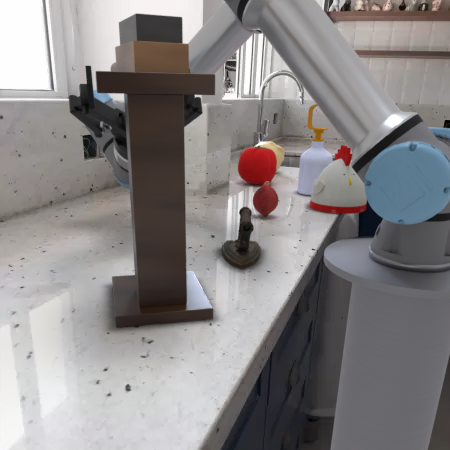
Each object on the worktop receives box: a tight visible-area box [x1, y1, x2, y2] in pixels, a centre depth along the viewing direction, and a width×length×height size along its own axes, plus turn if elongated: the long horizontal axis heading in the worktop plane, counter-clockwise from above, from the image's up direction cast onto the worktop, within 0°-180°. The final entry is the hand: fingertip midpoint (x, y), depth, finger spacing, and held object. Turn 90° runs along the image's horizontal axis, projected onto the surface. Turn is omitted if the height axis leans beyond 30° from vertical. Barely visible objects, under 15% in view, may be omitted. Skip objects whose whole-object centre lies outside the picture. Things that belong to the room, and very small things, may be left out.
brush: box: [110, 13, 189, 73], centre depth 60 cm, size 23×6×6 cm, turn 24°
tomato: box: [237, 145, 277, 186], centre depth 150 cm, size 12×13×12 cm
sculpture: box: [253, 140, 286, 172], centre depth 172 cm, size 12×12×11 cm
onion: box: [252, 181, 280, 217], centre depth 110 cm, size 6×6×8 cm
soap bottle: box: [297, 103, 334, 197], centre depth 134 cm, size 9×9×25 cm
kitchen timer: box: [309, 144, 368, 215], centre depth 119 cm, size 14×14×15 cm
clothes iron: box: [221, 206, 262, 270], centre depth 81 cm, size 7×11×10 cm, turn 0°
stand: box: [95, 70, 216, 328], centre depth 60 cm, size 14×12×28 cm
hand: (139, 75), depth 67 cm, fingers open, 13 cm apart
